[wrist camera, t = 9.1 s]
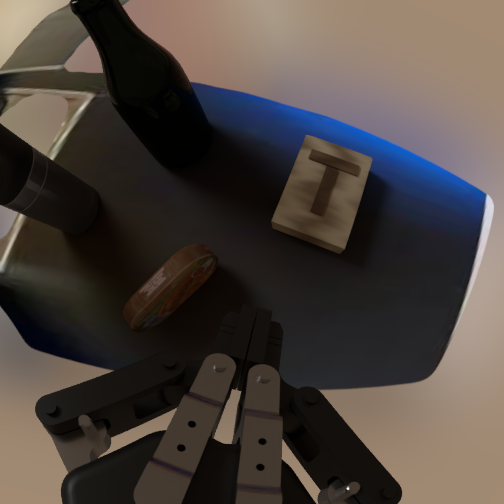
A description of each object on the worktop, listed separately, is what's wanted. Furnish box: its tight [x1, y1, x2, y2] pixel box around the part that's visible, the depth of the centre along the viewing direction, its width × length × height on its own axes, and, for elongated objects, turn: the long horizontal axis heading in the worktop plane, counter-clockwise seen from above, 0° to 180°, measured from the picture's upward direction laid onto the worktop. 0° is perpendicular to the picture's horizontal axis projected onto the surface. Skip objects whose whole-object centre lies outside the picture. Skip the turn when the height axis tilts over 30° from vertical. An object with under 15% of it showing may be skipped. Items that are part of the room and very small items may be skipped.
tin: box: [123, 243, 218, 333], centre depth 38 cm, size 15×3×8 cm, turn 132°
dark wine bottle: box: [70, 0, 212, 168], centre depth 30 cm, size 10×10×33 cm
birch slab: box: [271, 135, 372, 254], centre depth 40 cm, size 10×4×14 cm
